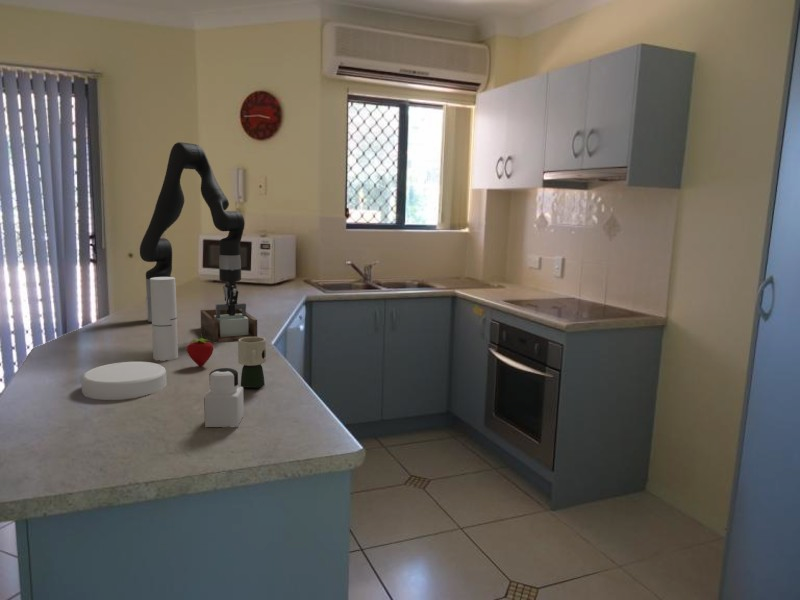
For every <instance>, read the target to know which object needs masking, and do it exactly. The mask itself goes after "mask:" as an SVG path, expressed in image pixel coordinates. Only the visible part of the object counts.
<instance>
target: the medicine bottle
mask: <svg viewBox="0 0 800 600" xmlns="http://www.w3.org/2000/svg"><path fill="white" fill-rule="evenodd" d="M203 400H204V401H203V403H204V404H203V405H204V406H203V407H204V411H203V412H204V427H205V428H206V427H222V428H229V427H228V426H238V425H240V424H239V423H241V422H240V421H242V420H243V418H242V417H244V415H245V414H244V412H245V410H244V409H245V408H244V387H242V386H239V372H238V370H236V369H234V368H232V367H231V368H230V367H221V368H216V369H213V370H212V371H211V372H209V390H208V391H207V393H205V395H204V397H203ZM241 419H242V420H241ZM226 426H227V427H226ZM238 427H239V426H238Z"/></svg>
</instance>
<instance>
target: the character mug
mask: <svg viewBox="0 0 800 600" xmlns="http://www.w3.org/2000/svg"><path fill="white" fill-rule="evenodd" d="M237 348H238V349H237V351H238V352H237V353H238V357H237V358H238V361H237V362H238V364H239V365H242V367H241V368H242V369H241V376H240V387H243V388H251V389H255V388H262V387H264V386H265V385H266V384H265V376H264V368H263V366H262V364H265V363H266V362H267V340H266V338H265V337H262V336H257V337H245V338H241V339H239V340H238V342H237Z"/></svg>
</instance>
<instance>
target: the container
mask: <svg viewBox="0 0 800 600" xmlns="http://www.w3.org/2000/svg"><path fill="white" fill-rule="evenodd" d="M80 383H81V394H82V395H84V396H85V397H86V396H87V398H89V397H90V398H89V399H94V400H101V401H119V400H120V401H121V400H128V399H129V400H130V399H136V398H140V397H146V396H149V395H151V394H155V393H157V391H158V392H160V391H161V390H163V389H164V388H165V387H166V386H167V370H166V368H165V367H164V366H162V365H161V364H159V363H156V362H152V361H151V362H149V361H123V362H122V361H121V362H115V363H108V364H107V363H106V364H105V365H101V366H99V365H98V366H97V367H94V368H92V369H89V370H88V371H86V372H85V373H83V374H82V375H81V381H80ZM159 390H160V391H159ZM148 394H149V395H148ZM145 395H146V396H145Z"/></svg>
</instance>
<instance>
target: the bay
mask: <svg viewBox="0 0 800 600" xmlns="http://www.w3.org/2000/svg"><path fill="white" fill-rule="evenodd" d="M235 314H242V309H235ZM214 315H216V308H214V309H213V308H211V309H200V328H201V330H202V331H203V332H204V331H205V332H204V333H205V334H206V335H207V336H208V337H209V338H210V339H211V341H213V343H214V342H217V343H223V342H224V341H228V342H237V341H236V340H239V339H241V338H245V337H258V319H257V318H255V317H254V316H252V315H251V314H250V313H248V312H247V311H246V317H247V318H248V329H249V335H240V336H227V337H220V336H219V335H218V323H217V322H216V321H215V320H214ZM220 315H228V314H227V310H220ZM224 343H225V342H224Z"/></svg>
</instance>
